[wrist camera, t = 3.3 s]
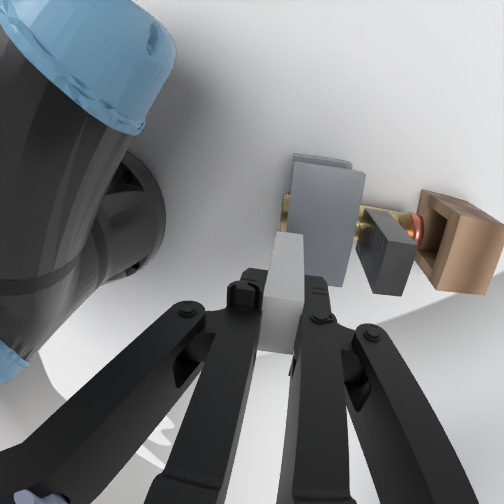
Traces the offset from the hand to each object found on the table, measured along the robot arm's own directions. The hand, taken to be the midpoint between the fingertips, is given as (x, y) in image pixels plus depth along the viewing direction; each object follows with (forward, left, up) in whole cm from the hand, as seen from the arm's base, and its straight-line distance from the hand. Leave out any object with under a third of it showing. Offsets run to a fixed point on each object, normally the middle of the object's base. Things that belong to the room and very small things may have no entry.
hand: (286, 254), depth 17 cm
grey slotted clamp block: (+2, 0, -12) cm, 12 cm away
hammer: (+5, 0, -9) cm, 11 cm away
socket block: (+16, 0, -12) cm, 20 cm away
